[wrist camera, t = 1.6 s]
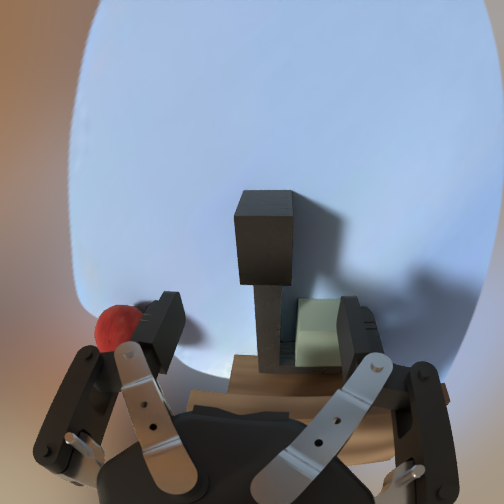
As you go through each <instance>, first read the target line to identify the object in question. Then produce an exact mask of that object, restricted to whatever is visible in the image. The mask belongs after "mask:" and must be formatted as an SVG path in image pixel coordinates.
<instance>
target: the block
mask: <svg viewBox="0 0 504 504" xmlns="http://www.w3.org/2000/svg"><path fill="white" fill-rule="evenodd" d="M339 305H340V299H299V298H298V311H297V322H296V334H295V367H324V366H341V358H340V351H339V344H338V337H337V330H336V322H337V315H338V310H339Z"/></svg>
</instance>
